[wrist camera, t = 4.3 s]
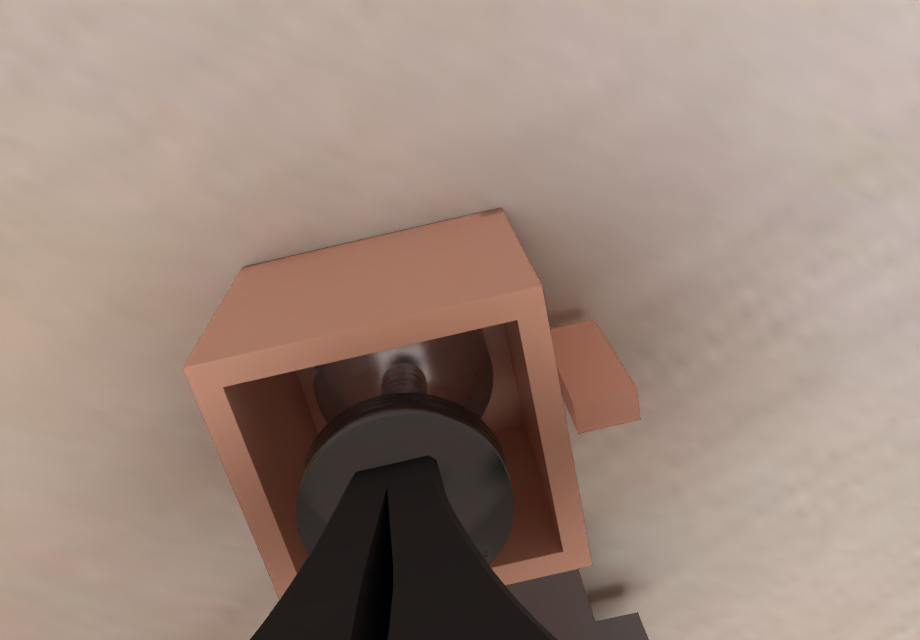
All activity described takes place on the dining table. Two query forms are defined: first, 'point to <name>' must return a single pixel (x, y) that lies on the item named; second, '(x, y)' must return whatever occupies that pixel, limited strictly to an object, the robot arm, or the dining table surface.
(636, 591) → the dining table surface
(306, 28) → the dining table surface
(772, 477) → the dining table surface
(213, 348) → the tan open box
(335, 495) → the dark metallic spool
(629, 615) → the gray open box
